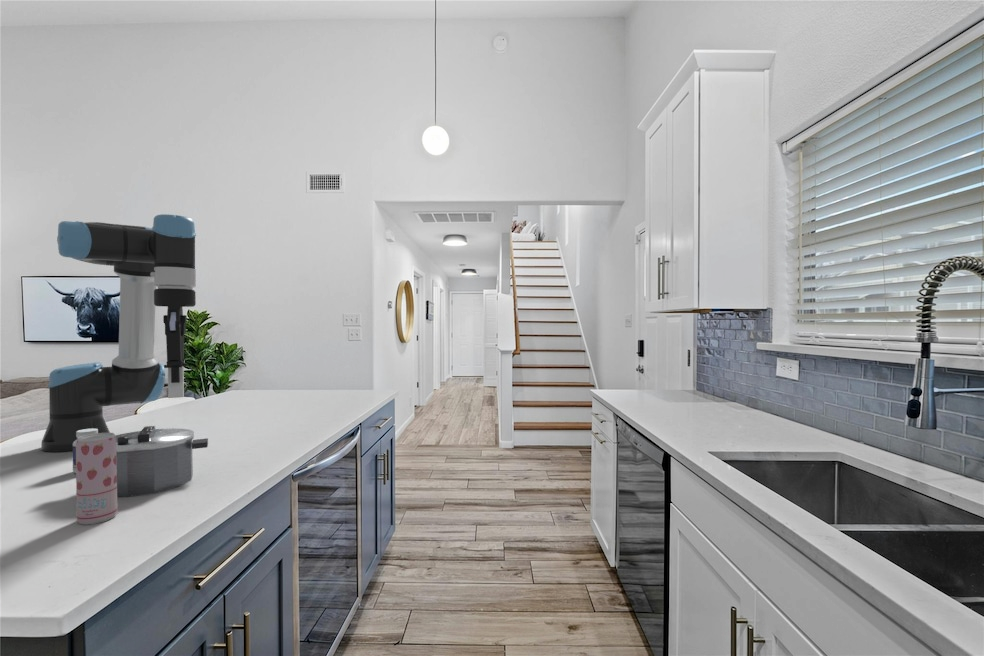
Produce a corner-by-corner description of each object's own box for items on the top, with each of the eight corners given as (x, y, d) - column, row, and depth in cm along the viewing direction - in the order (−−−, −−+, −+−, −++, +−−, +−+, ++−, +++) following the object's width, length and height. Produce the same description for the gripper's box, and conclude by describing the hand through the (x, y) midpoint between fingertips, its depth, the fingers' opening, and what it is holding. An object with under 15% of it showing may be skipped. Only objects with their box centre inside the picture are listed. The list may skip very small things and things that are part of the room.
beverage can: (71, 527, 83) (69, 441, 83) (83, 515, 89) (82, 434, 88) (111, 521, 86) (110, 437, 85) (121, 510, 91) (120, 431, 91)
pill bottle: (85, 474, 112) (84, 433, 112) (66, 473, 113) (66, 432, 113) (108, 468, 118) (107, 428, 117) (90, 466, 119) (89, 427, 118)
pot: (90, 480, 108) (90, 440, 108) (209, 465, 119) (209, 429, 119) (68, 505, 93) (67, 459, 93) (206, 485, 104) (205, 444, 104)
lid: (106, 437, 110) (106, 426, 110) (196, 429, 119) (196, 418, 118) (85, 457, 94) (84, 444, 94) (191, 446, 103) (190, 434, 102)
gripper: (158, 289, 108) (159, 394, 109) (149, 286, 97) (150, 403, 97) (197, 290, 112) (198, 391, 112) (193, 287, 100) (194, 400, 101)
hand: (176, 397), depth 105 cm, fingers closed
